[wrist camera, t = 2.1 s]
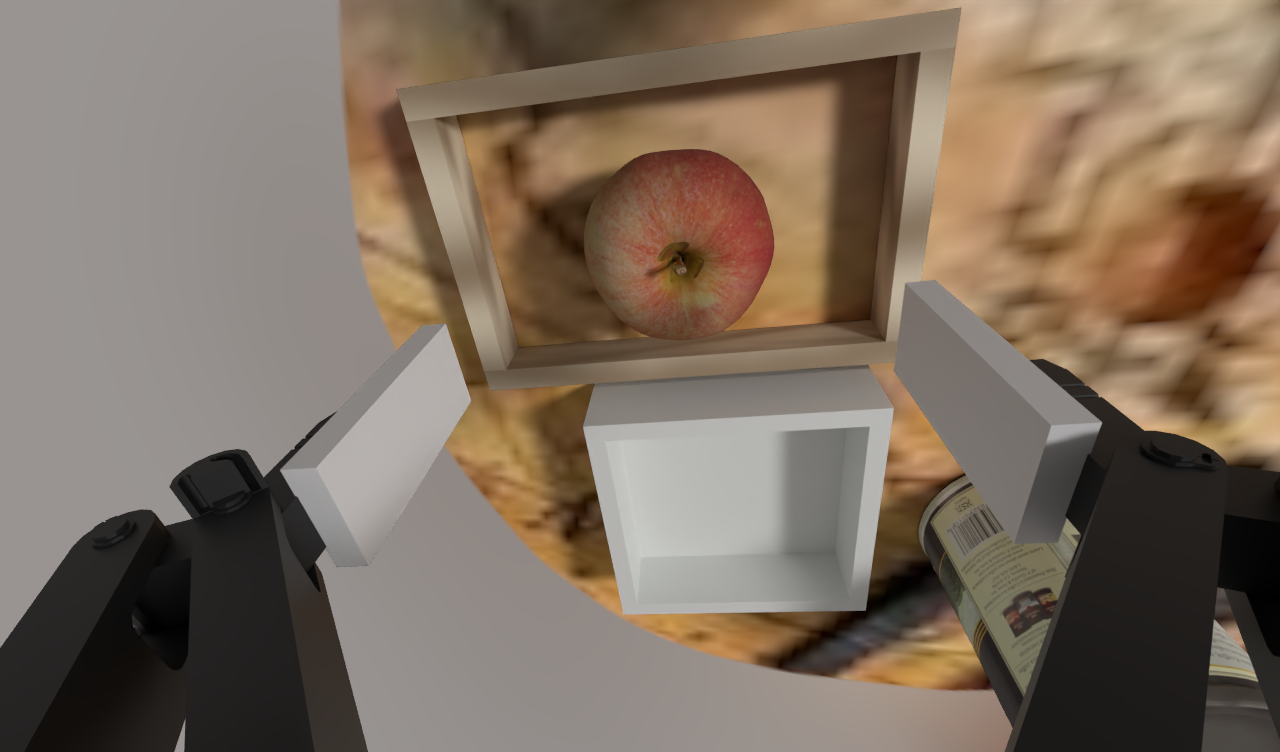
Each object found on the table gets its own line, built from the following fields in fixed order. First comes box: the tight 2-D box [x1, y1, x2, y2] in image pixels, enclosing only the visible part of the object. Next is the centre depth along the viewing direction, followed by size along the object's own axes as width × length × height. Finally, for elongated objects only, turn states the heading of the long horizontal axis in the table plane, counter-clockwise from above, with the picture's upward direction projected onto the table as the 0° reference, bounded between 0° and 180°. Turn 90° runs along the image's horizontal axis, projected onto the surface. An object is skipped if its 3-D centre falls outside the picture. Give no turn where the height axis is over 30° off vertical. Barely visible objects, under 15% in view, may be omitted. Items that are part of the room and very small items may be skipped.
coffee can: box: [919, 475, 1280, 752], centre depth 28 cm, size 10×10×14 cm
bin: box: [583, 364, 894, 614], centre depth 32 cm, size 15×15×4 cm
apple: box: [584, 149, 774, 340], centre depth 23 cm, size 8×8×8 cm
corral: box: [396, 8, 961, 391], centre depth 25 cm, size 14×21×2 cm
